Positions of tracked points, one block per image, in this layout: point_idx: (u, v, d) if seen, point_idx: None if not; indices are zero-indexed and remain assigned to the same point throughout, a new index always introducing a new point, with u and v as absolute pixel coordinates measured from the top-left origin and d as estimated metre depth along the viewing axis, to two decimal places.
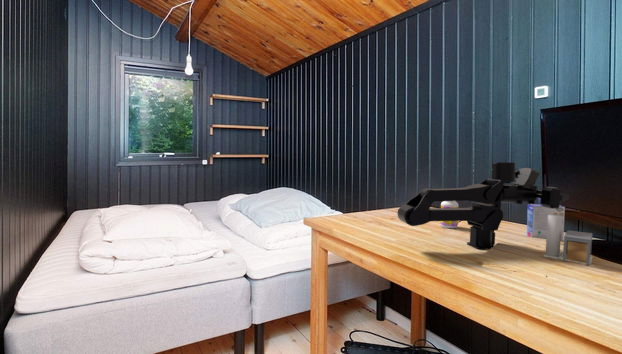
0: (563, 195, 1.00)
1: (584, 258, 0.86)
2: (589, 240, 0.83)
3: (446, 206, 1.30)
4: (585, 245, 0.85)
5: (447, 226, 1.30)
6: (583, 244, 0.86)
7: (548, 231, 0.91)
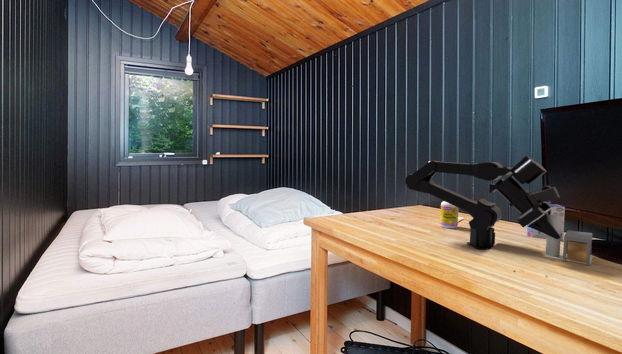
0: (552, 229, 0.89)
1: (584, 258, 0.86)
2: (589, 240, 0.83)
3: (446, 206, 1.30)
4: (585, 245, 0.85)
5: (447, 226, 1.30)
6: (583, 244, 0.86)
7: None
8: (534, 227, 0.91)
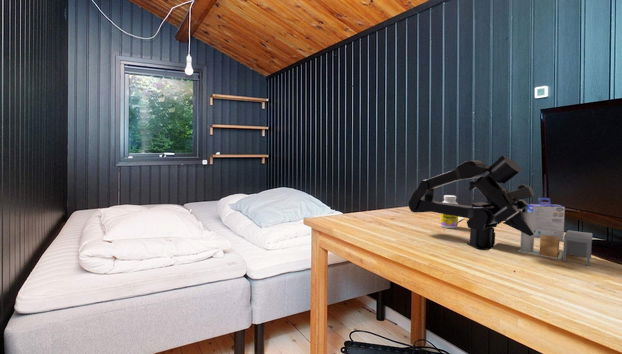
0: (525, 226, 0.94)
1: (555, 253, 0.90)
2: (589, 240, 0.83)
3: None
4: (556, 241, 0.90)
5: (447, 226, 1.30)
6: (554, 240, 0.90)
7: None
8: (509, 224, 0.96)
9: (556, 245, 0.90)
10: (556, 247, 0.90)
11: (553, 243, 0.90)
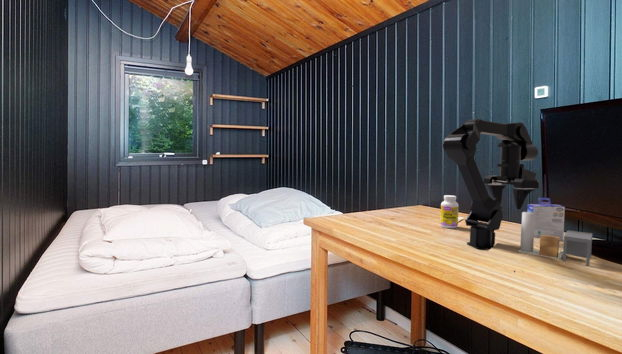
0: (522, 201, 1.04)
1: (555, 253, 0.90)
2: (589, 240, 0.83)
3: (446, 206, 1.30)
4: (556, 241, 0.90)
5: (447, 226, 1.30)
6: (554, 240, 0.90)
7: (522, 228, 0.96)
8: (518, 192, 1.02)
9: (556, 245, 0.90)
10: (556, 247, 0.90)
11: (553, 243, 0.90)
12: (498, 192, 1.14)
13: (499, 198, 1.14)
